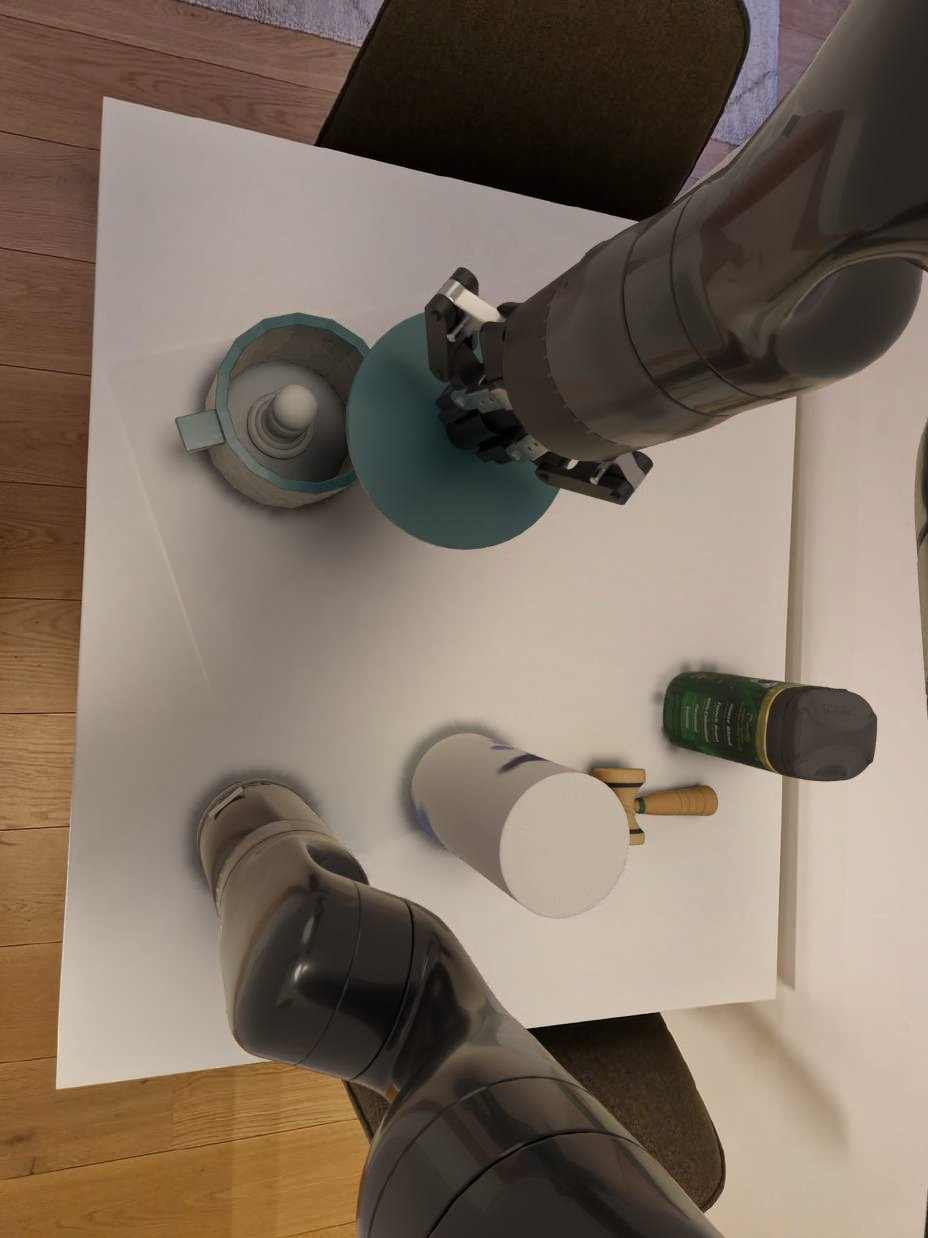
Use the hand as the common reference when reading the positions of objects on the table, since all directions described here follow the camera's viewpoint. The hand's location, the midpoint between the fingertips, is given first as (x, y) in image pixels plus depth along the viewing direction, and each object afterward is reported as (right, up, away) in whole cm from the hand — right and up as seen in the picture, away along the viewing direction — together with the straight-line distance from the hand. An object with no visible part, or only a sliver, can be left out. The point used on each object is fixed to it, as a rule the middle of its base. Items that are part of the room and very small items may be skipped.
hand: (470, 427), depth 49 cm
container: (-1, -26, +30) cm, 39 cm away
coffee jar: (+23, -20, +39) cm, 49 cm away
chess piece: (-15, +5, +23) cm, 28 cm away
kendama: (+15, -28, +36) cm, 48 cm away
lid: (-1, 0, +1) cm, 1 cm away
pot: (-15, +5, +23) cm, 28 cm away
